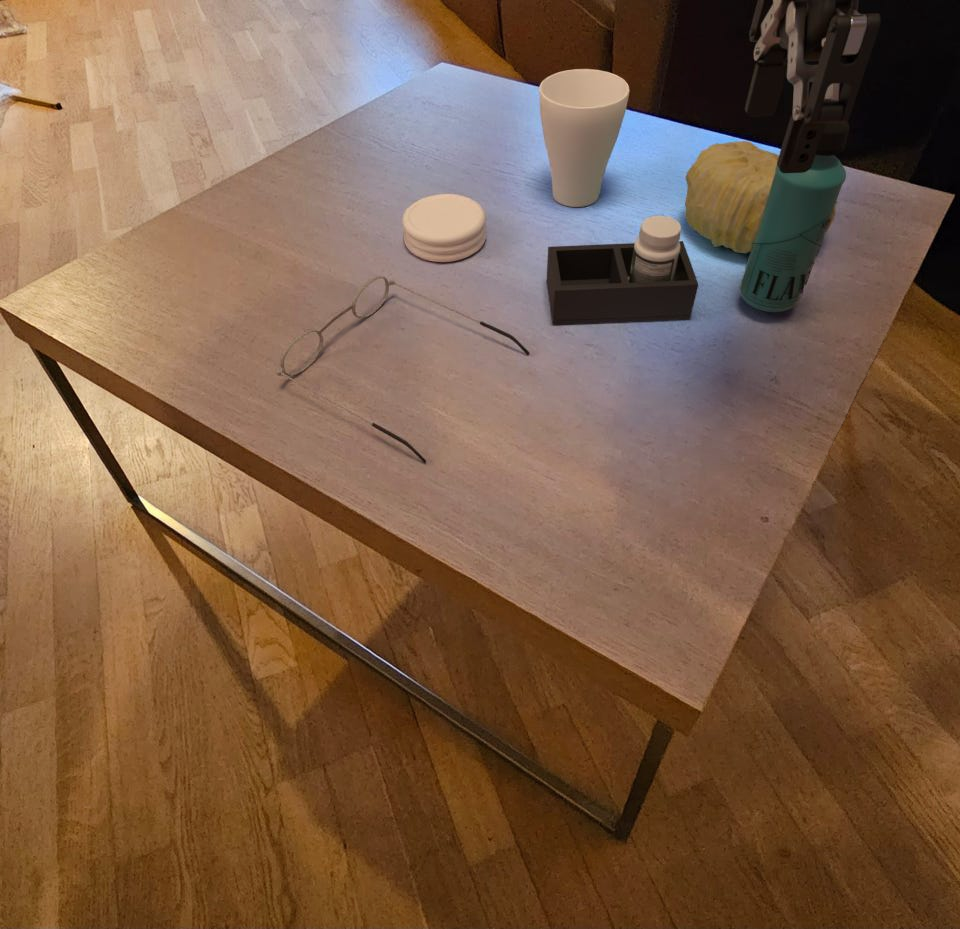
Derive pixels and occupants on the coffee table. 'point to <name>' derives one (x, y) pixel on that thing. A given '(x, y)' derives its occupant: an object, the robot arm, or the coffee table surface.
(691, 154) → the coffee table surface
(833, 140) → the beverage bottle
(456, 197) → the white jar lid
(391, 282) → the eyeglasses
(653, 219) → the pill bottle
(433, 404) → the coffee table surface
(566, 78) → the cup
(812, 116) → the robot arm
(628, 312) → the holder
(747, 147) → the yellow lumpy rounded block
